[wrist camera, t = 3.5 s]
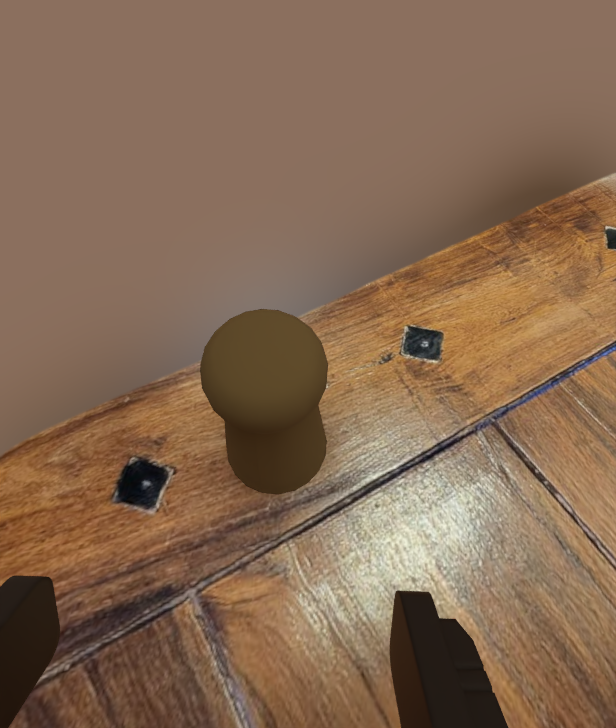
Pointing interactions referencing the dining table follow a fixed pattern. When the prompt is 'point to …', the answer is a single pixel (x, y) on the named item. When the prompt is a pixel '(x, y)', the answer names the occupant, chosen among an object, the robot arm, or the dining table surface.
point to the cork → (268, 397)
